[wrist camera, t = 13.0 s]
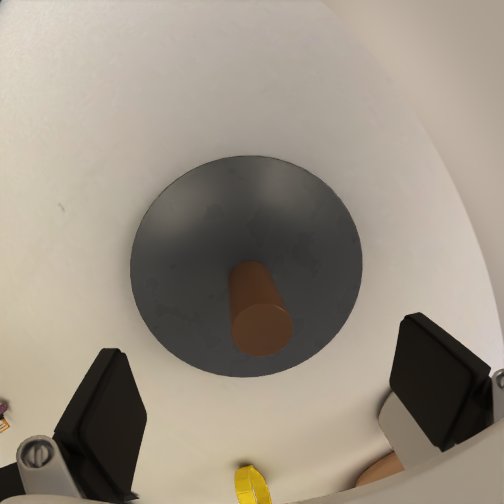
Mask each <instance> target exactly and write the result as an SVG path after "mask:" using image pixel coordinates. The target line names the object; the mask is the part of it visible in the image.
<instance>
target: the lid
mask: <svg viewBox="0 0 504 504" xmlns="http://www.w3.org/2000/svg"><path fill="white" fill-rule="evenodd" d="M130 277H131V284H132V291H133V295H134V298H135V302H136V305H137V307H138V310H139V312H140V314H141V316H142V318H143V320H144V322H145V323H146V325H147V327H148V328H149V330H150V331H151V332H152V334H153V335H154V336H155V337H156V339H157V340H158V341H159V342H160V343H161V344H162V345H163V346H164V347H165V348H166V349H167V350H168V351H170V352H171V353H172V354H174V355H175V356H176V357H178V358H179V359H181V360H183V361H184V362H186V363H188V364H190V365H191V366H194V367H196V368H198V369H201V370H203V371H206V372H210V373H213V374H217V375H223V376H229V377H259V376H265V375H271V374H274V373H278V372H281V371H284V370H287V369H289V368H292V367H294V366H296V365H298V364H300V363H302V362H304V361H306V360H307V359H309V358H310V357H312V356H313V355H315V354H316V353H318V352H319V351H320V350H321V349H322V348H324V347H325V346H326V345H327V344H328V343H329V342H330V341H331V340H332V339H333V338H334V337H335V335H336V334H337V333H338V332H339V331H340V329H341V328H342V326H343V325H344V323H345V322H346V320H347V319H348V317H349V315H350V313H351V311H352V309H353V307H354V304H355V302H356V299H357V296H358V292H359V288H360V284H361V277H362V250H361V244H360V239H359V236H358V232H357V229H356V226H355V224H354V222H353V219H352V217H351V215H350V213H349V211H348V210H347V208H346V207H345V205H344V204H343V202H342V201H341V199H340V198H339V197H338V196H337V195H336V194H335V192H334V191H333V190H332V189H331V188H330V187H329V186H327V185H326V184H325V183H324V182H323V181H322V180H321V179H319V178H318V177H316V176H315V175H313V174H312V173H310V172H308V171H307V170H305V169H303V168H301V167H299V166H296V165H294V164H292V163H289V162H286V161H282V160H279V159H275V158H270V157H263V156H236V157H229V158H223V159H219V160H216V161H212V162H209V163H206V164H204V165H201V166H199V167H197V168H195V169H193V170H190V171H189V172H187V173H186V174H184V175H183V176H181V177H179V178H178V179H176V180H175V181H174V182H173V183H172V184H170V185H169V186H168V187H167V188H166V189H165V190H164V191H163V192H162V193H161V194H160V195H159V196H158V197H157V199H156V200H155V201H154V202H153V203H152V205H151V206H150V208H149V209H148V211H147V212H146V214H145V215H144V217H143V219H142V221H141V224H140V226H139V228H138V230H137V233H136V236H135V240H134V243H133V247H132V254H131V261H130Z"/></svg>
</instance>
